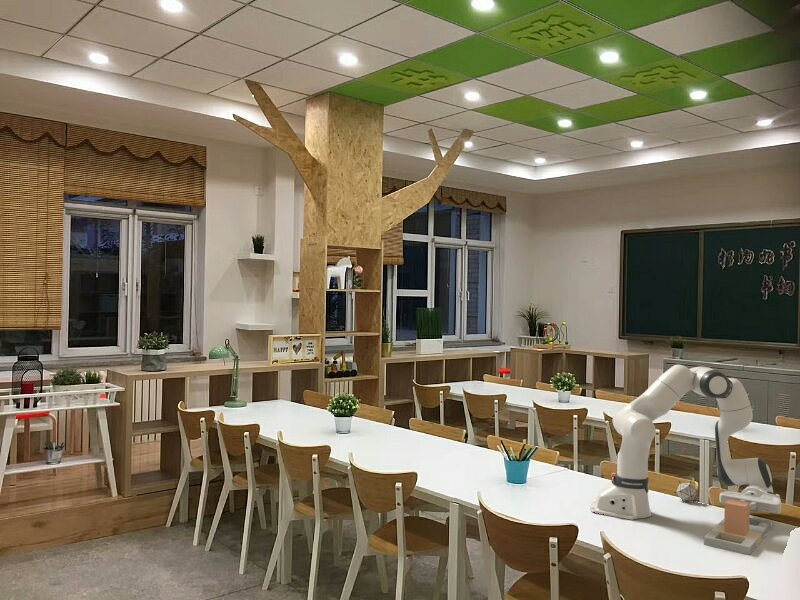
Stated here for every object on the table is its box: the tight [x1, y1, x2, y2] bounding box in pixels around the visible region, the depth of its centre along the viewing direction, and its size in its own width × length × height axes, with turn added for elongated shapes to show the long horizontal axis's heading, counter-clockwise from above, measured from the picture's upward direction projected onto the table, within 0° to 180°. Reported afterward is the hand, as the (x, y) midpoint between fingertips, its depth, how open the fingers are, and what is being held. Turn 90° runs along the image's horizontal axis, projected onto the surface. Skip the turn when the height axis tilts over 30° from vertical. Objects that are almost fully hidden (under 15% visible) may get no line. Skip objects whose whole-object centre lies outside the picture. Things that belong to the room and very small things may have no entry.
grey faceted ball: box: [673, 480, 700, 503], centre depth 276 cm, size 9×8×10 cm
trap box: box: [703, 517, 772, 556], centre depth 235 cm, size 34×14×2 cm, turn 141°
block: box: [723, 499, 751, 536], centre depth 233 cm, size 6×6×10 cm
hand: (745, 506), depth 242 cm, fingers closed
